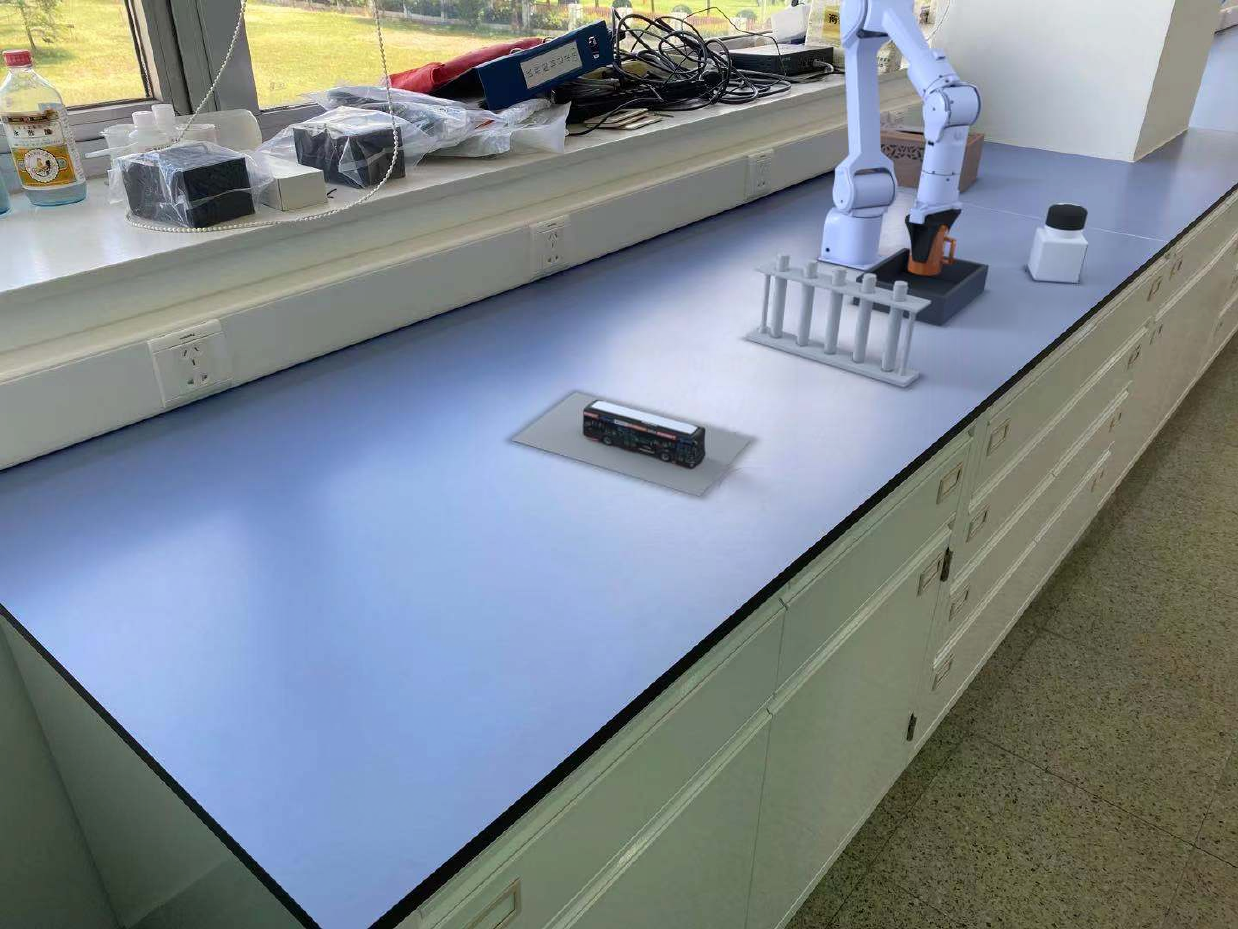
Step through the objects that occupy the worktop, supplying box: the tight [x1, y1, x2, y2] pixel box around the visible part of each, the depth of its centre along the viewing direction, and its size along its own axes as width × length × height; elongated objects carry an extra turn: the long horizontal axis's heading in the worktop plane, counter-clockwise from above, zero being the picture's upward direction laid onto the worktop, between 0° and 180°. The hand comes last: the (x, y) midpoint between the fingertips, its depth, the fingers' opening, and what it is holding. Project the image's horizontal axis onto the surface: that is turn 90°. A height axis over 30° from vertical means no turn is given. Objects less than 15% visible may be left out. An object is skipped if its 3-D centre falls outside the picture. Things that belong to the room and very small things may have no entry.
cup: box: [907, 225, 957, 275], centre depth 151 cm, size 7×5×7 cm
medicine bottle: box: [1027, 202, 1089, 284], centre depth 162 cm, size 7×7×12 cm
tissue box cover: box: [855, 121, 986, 195], centre depth 217 cm, size 26×14×10 cm, turn 58°
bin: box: [852, 247, 990, 327], centre depth 155 cm, size 15×19×4 cm
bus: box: [511, 392, 751, 497], centre depth 115 cm, size 14×25×4 cm, turn 60°
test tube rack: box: [746, 251, 931, 388], centre depth 133 cm, size 25×4×13 cm, turn 50°
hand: (925, 257), depth 153 cm, fingers closed on cup, 5 cm apart
